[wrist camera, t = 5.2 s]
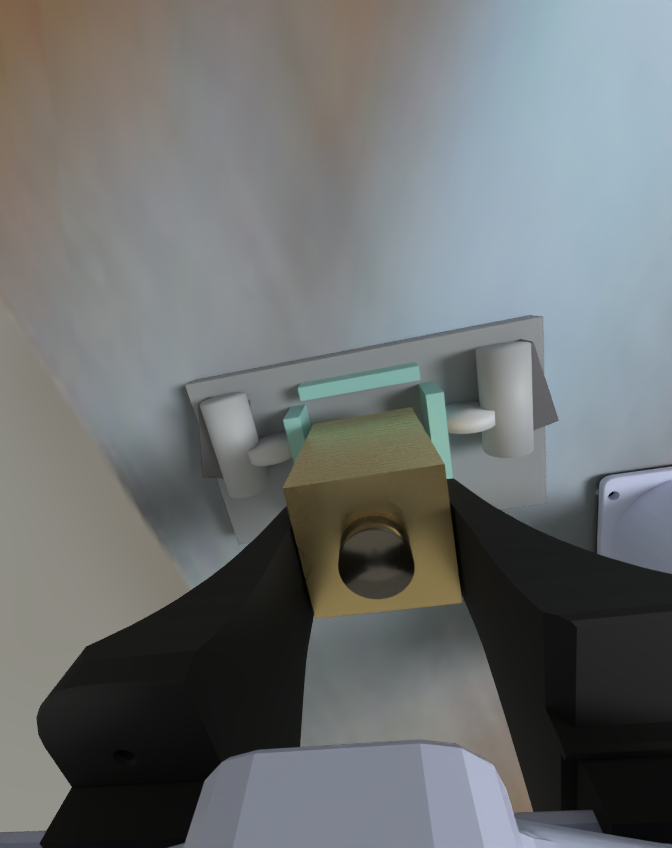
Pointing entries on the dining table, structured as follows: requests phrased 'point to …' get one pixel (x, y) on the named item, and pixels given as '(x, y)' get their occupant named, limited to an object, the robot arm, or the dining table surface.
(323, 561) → the coupling block
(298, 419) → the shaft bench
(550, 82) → the dining table surface
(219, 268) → the dining table surface
